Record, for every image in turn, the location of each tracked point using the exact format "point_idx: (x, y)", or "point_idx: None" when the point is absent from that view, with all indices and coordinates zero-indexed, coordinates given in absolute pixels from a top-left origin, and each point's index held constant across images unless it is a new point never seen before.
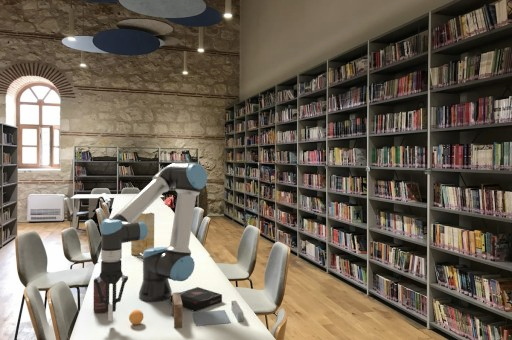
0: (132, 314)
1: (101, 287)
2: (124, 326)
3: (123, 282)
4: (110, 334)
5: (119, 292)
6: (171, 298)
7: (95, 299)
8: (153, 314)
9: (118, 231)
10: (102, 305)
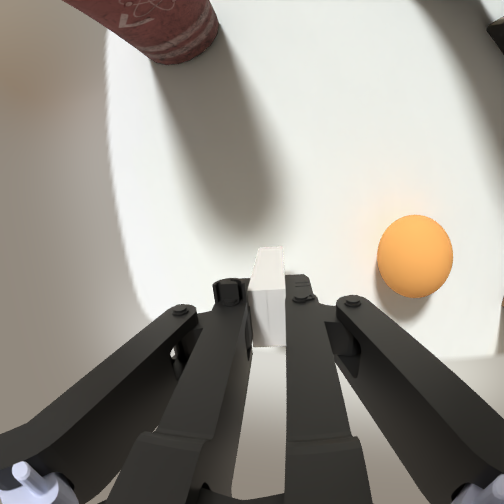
0: (406, 290)
1: (103, 396)
2: (345, 266)
3: (448, 500)
4: None
5: (371, 413)
6: (500, 29)
7: (120, 36)
8: (463, 135)
9: None
10: (178, 44)
